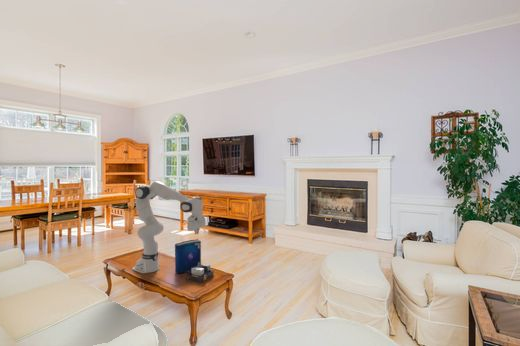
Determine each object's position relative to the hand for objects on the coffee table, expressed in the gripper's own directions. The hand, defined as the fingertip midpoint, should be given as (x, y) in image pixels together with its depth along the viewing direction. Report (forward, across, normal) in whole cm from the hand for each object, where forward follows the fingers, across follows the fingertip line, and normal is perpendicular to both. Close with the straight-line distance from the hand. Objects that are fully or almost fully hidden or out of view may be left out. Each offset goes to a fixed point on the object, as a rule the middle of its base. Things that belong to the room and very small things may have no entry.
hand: (196, 233), depth 213 cm
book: (+34, -5, -12) cm, 37 cm away
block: (+34, +6, +6) cm, 35 cm away
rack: (+34, +2, +6) cm, 35 cm away
